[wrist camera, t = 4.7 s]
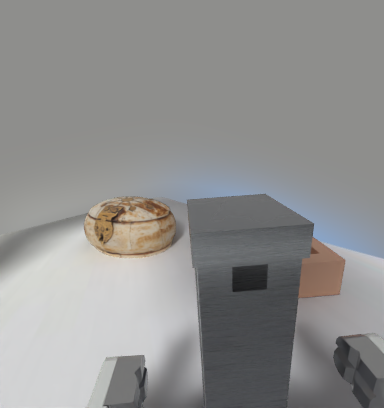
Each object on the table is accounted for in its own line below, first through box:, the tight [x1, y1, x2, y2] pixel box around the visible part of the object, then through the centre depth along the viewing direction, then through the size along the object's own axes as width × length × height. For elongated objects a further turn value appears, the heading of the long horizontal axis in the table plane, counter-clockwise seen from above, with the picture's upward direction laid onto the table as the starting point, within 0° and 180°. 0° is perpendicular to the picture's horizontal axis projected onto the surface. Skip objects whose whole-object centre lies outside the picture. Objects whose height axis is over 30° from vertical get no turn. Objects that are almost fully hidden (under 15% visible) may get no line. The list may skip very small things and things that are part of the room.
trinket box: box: [84, 197, 176, 258], centre depth 34 cm, size 13×15×8 cm
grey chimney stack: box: [187, 194, 314, 408], centre depth 10 cm, size 4×4×13 cm
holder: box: [298, 237, 345, 298], centre depth 25 cm, size 10×10×4 cm
